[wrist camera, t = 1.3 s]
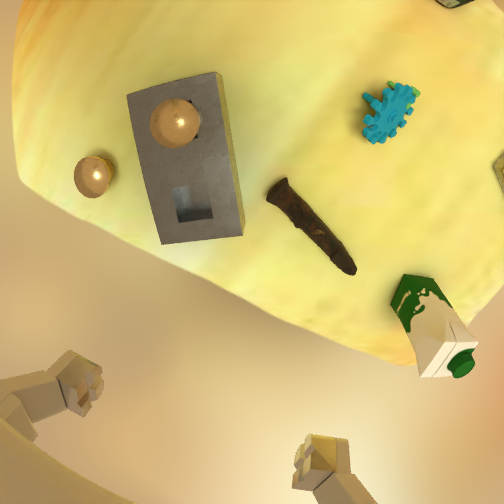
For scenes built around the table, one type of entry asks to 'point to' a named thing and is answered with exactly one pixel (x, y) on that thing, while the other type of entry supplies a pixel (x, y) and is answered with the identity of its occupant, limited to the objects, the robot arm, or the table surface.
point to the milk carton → (433, 329)
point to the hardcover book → (500, 170)
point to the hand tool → (311, 225)
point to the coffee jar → (454, 3)
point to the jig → (188, 159)
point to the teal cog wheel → (389, 111)
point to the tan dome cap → (93, 176)
